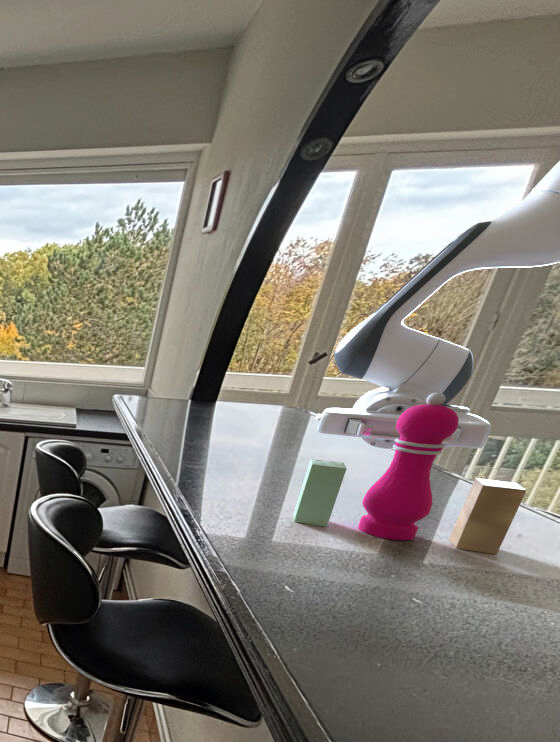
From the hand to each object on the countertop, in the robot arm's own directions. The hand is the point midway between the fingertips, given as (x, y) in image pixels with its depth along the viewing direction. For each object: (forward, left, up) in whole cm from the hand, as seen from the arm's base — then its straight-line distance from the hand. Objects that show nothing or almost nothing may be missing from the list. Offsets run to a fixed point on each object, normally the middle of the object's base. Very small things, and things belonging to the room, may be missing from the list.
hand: (405, 434), depth 89 cm
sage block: (+11, +8, -13) cm, 19 cm away
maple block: (-6, +13, -13) cm, 19 cm away
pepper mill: (+3, +10, -13) cm, 17 cm away
